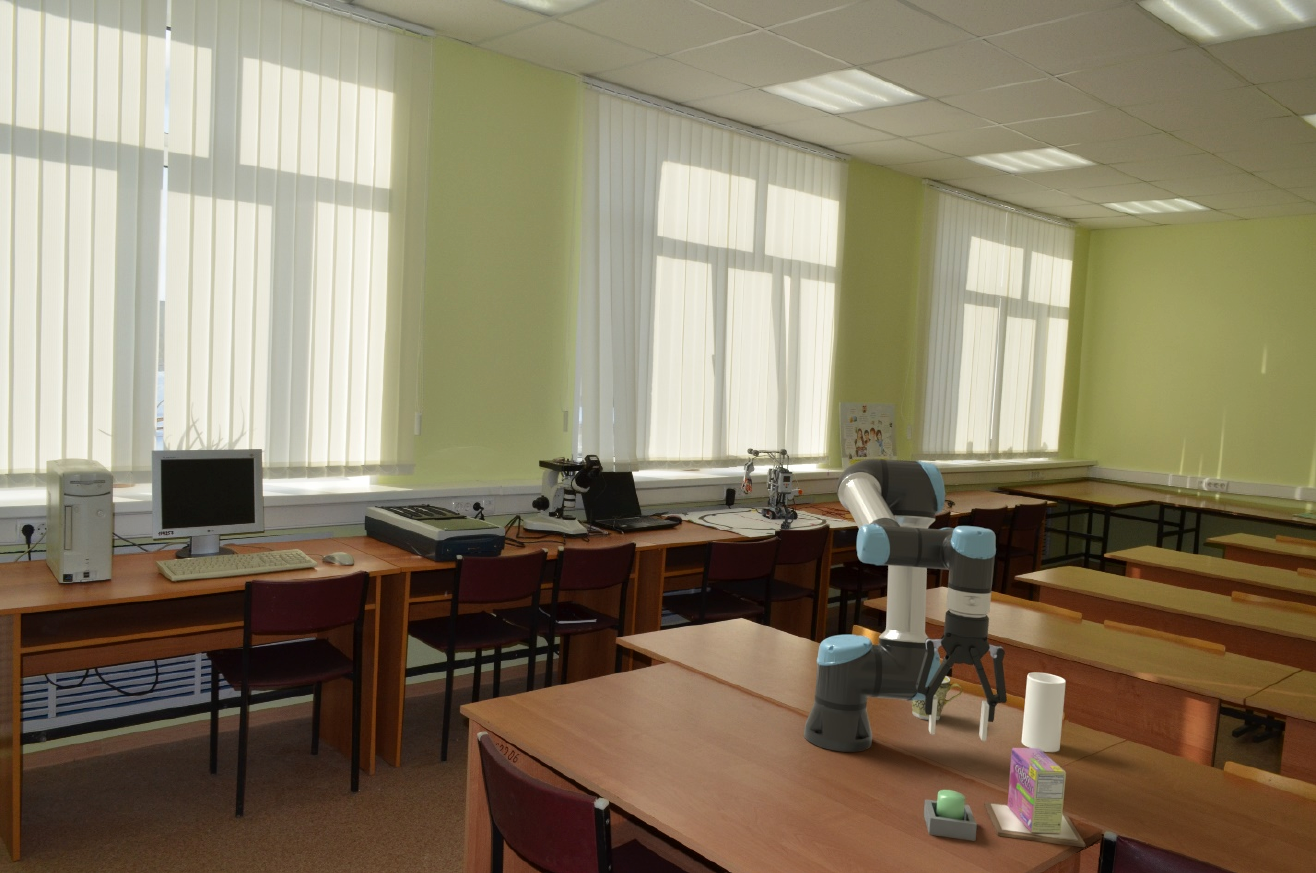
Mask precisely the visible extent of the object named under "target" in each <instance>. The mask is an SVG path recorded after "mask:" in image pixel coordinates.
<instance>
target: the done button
mask: <svg viewBox="0 0 1316 873" xmlns="http://www.w3.org/2000/svg"><path fill="white" fill-rule="evenodd" d="M936 801H937V810H936V817H943V818H950V819H958V820H963V819H964V808H965V805H966V796H965V795H964V794H963V793H962V792H961V793H960V792H959V791H957V790H956V791H955V790H952V789H940V790H939V791H938V792H937V799H936Z"/></svg>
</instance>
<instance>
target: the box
mask: <svg viewBox="0 0 1316 873" xmlns="http://www.w3.org/2000/svg"><path fill="white" fill-rule="evenodd" d="M1010 755H1011V756H1010V769H1009V783H1008V794H1007V805H1008V807H1009V808H1010V809H1011V811H1012V812H1013V813H1014V814H1015V815H1016V816H1017V817H1018V818H1019V819H1020V821H1021V822H1022V823H1023V824H1024V825H1025V826H1026V827H1027V828H1028V829H1029V831H1030V832H1031V833H1061V822H1062V812H1064V811H1063V810H1064V809H1063V808H1064V798H1065V788H1066V777H1067V776H1066V775H1067V772H1066V771H1065V769H1063V767H1061V766H1060V765H1059V764H1058V763H1056V762H1055V761H1054V760H1053V759H1052V758H1051V757H1050V756H1048V755H1047V754H1046V753H1045V752H1043V751H1041V750H1040V749H1036V748H1029V747H1011V753H1010Z"/></svg>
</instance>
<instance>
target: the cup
mask: <svg viewBox="0 0 1316 873" xmlns="http://www.w3.org/2000/svg"><path fill="white" fill-rule="evenodd" d="M1066 682H1067V681H1066V679H1065V678H1063V677H1061V676H1058V675H1055V674H1051V673H1047V672H1029V673H1028V674H1027V677H1026V688H1025V699H1024V700H1025V701H1024V708H1023V709H1024V710H1023V720H1022V732H1021V733H1022V734H1021V744H1022V745H1024V746H1025V747H1026V748H1036V749H1040V750H1041V751H1043V752H1044V753H1045V752H1046V753H1056V752H1059V751H1060V750H1061V749H1060V747H1061V738H1062V737H1061V736H1062V725H1063V716H1064V715H1063V714H1064V704H1065V693H1066V692H1065V691H1066Z"/></svg>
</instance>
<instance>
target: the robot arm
mask: <svg viewBox="0 0 1316 873" xmlns="http://www.w3.org/2000/svg"><path fill="white" fill-rule="evenodd" d="M836 495H837V497H838V498H837V499H838V500H839V502H840V505H842V507H843V508H844V509H846V510H847V511H849V512H850V514H851V516H852V518H853V519H854V522H855V523H856V526H857V528H858V532H857V536H856V552H857V557H858V560H859V561H860V562H862V563H863V564H870V565H874V566H888V567H887V569H888V570H887V591H886V592H887V596H886V620H885V621H886V622H885V623H886V625H885V626H886V627H885V630H884V631H883V632H882V633H881V634H880V635H879V637H878V644H873V641H872V640H871V639H870V638H869V637H868V636H865V635H858V634H837V635H832V636H829V637H827V638H825V639H823V640H822V641H821V642H820V644H819V646H818V653H817V658H816V665H817V666H816V679H815V691H814V693H815V694H814V701H813V705H812V707H811V710H810V712H809V714H808V716H807V719H806V722H805V724H804V730H803V731H804V733H803V736H804V738H805V740H807V741H808V742H809V743H811V744H813V745H815V746H817V747H819V748H823V749H826V750H831V751H836V752H844V753H845V752H846V753H848V752H849V753H853V752H861V751H866V750H868V749H870V748H871V747H872V744H873V743H872V741H873V731H872V729H871V724H870V719H869V715H868V711H867V706H868V705H867V703H868V698H877V699H878V698H879V699H890V700H891V699H892V700H894V699H895V700H906V701H908V702H912V700H925V706H924V710H925V713H926V714H927V715H930V717H929V720H928V732H929V735H936V723H937V720H936V713H937V701H938V699H937V697H936V695H935V693H936V692H937V690H938V688H939V687H940V685H941V683H942V682H943V680H944V678H945V677H946V676H947V675H948V673H949V672H950V670H951V668H952V667H953V666H954V665H955V664H958V665H961V664H962V665H963V664H965V665H968V666H974V669H975V671H976V674H977V677H978V680H979V682H980V685H981V688H982V690H983V692H984V695H985V697H986V700H981V709H980V721H979V733H978V734H979V735H978V736H979V739H980V740H981V742H987V737H988V736H987V735H988V727H989V726H988V725H989V723H994V721H995V713H996V712H995V711H996V706H997V705H998V704H1001V703H1002V704H1005V703H1007V701H1008V700H1007V699H1008V698H1007V689H1006V681H1005V672H1004V671H1005V670H1004V664H1003V661H1004V657H1005V654H1006V651H1005V649H1004V648H1003V647H1002V645H1000V644H999V645H993V644H990V643H989V641H988V640H989V639H988V638H989V637H988V634H989V624H990V618H989V616H988V615H989V613H990V611H991V598H992V589H993V588H992V585H993V578H994V570H995V569H994V566H995V556H996V553H997V552H996V551H997V548H996V540H997V539H996V538H997V537H996V534H995V531H993V530H992V529H990V528H984V527H980V526H971V525H958V526H956V527H955V528H952V527H942V528H939V529H936V528H930V526H931V525H932V524H933V523H934V522H935V521H936V515H937V514H940V513H941V512H943V510H944V507H945V501H946V490H945V483H944V479H943V474H942V473H941V471H940V469H939V467H938V466H937V465H935V464H934V463H931V462H926V461H925V462H924V461H919V460H904V459H903V460H901V459H900V460H899V459H885V458H884V459H882V458H881V459H880V458H865V459H862V460H859V461H856V462H854V463H852V464H851V465H850V466H848V467H847V468H845V469H844V471H843V472H842V473H841V474H840V476H839V478H838V481H837V483H836ZM927 569H935V570H938V569H939V570H948V571H949V572H948V581H947V583H948V584H947V594H946V604H945V607H946V609H948V610H947V611H945V616H944V628H943V629H944V630H943V634H942V635H941V637H940V638H939V639H938V638H935V639H932V638H930V637H929V636H928V635H927V634H926V611H927V610H926V609H927V608H926V606H927V576H928V574H927V573H928V572H927V571H928V570H927ZM940 647H942V648H943V650H944V652H945V653H946V654H945V655H944V656H943V658H942V662H941V661H940V658H941V656H940V654H939V648H940ZM987 652H989V653H990V656H991V658H992V662H993V670H994V671H993V673H994V679H995V688H996V689H995V690H996V693H993V690H992V688H991V687H992V686H991V685H990V682H989V679H988V677H987V673H986V670H985V668H984V666H983V663H982V658H983V657H985V655H986V654H987Z"/></svg>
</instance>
